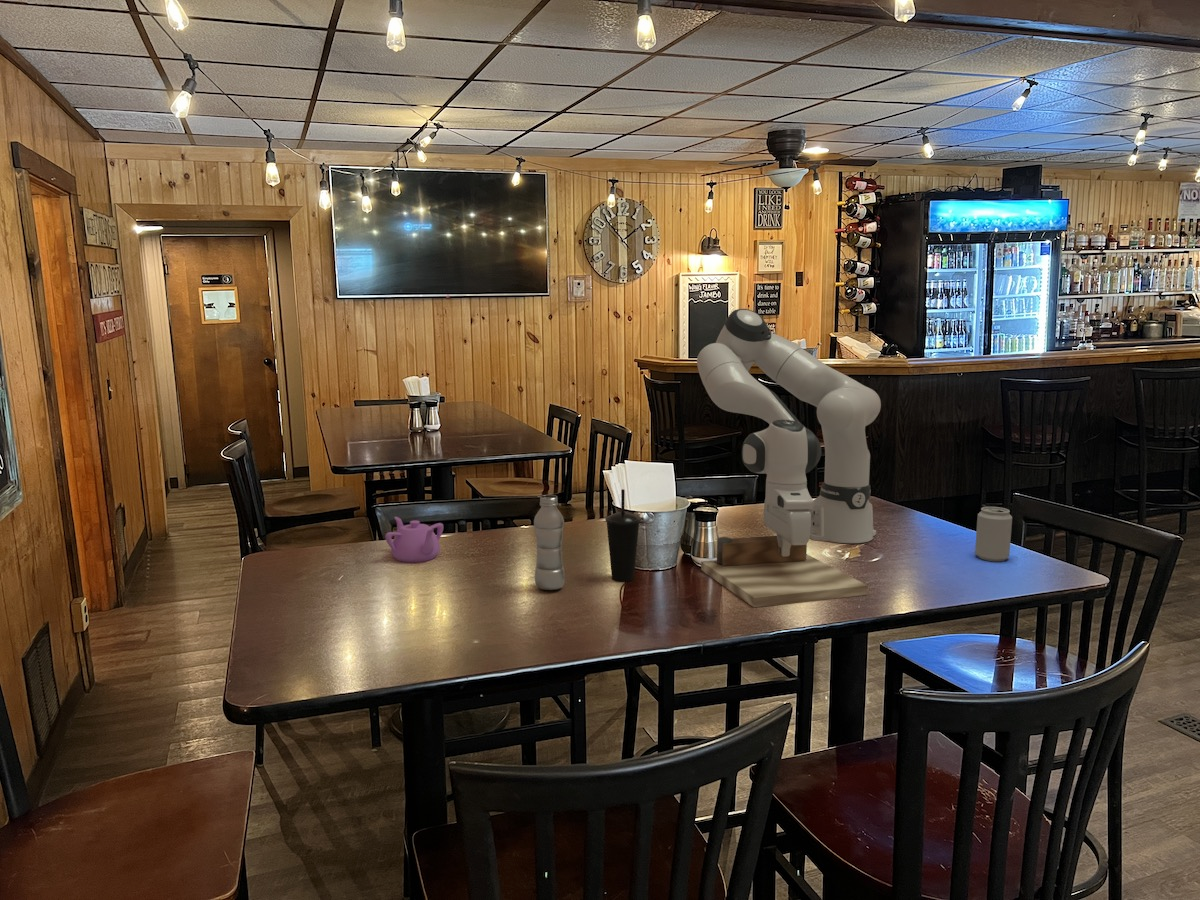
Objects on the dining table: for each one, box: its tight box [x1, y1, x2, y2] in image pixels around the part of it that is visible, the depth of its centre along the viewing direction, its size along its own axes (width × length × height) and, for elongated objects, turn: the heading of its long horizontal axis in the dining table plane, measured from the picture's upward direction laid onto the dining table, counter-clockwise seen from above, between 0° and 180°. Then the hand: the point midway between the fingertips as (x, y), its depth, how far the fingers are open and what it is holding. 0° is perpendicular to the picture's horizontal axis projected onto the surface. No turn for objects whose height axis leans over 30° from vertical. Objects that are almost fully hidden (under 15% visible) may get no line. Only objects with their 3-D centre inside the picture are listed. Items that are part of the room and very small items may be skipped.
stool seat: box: [700, 553, 869, 608], centre depth 189 cm, size 26×26×5 cm
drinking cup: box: [604, 488, 641, 583], centre depth 190 cm, size 8×8×20 cm
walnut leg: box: [716, 535, 808, 566], centre depth 197 cm, size 21×4×6 cm, turn 103°
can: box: [974, 506, 1013, 562], centre depth 206 cm, size 8×8×12 cm
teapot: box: [384, 516, 444, 564], centre depth 208 cm, size 12×14×9 cm
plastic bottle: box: [533, 494, 566, 591], centre depth 183 cm, size 6×7×20 cm
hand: (783, 555), depth 194 cm, fingers closed
